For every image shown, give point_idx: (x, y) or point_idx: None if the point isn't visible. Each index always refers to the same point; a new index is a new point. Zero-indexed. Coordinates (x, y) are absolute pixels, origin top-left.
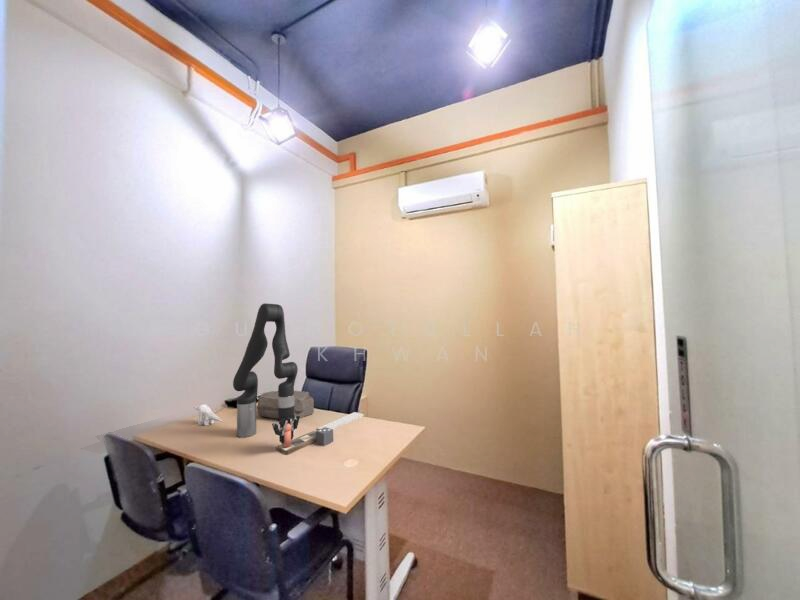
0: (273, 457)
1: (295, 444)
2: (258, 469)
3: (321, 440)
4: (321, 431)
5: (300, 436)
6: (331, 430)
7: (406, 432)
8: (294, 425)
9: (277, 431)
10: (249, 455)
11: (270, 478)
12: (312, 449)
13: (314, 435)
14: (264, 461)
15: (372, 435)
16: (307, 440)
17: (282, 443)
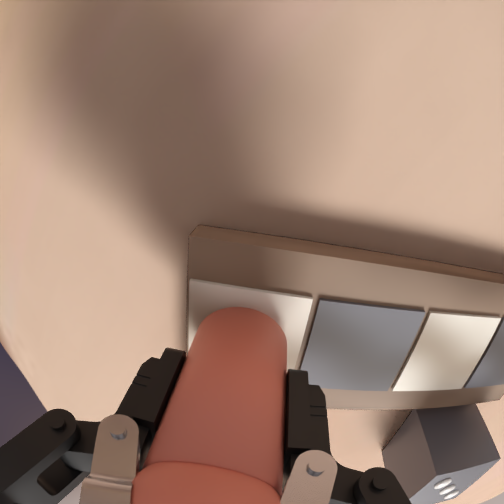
0: (112, 307)
1: (310, 375)
2: (20, 324)
3: (396, 463)
4: (429, 492)
5: (480, 281)
6: (443, 500)
7: (485, 497)
8: (387, 502)
9: (41, 482)
10: (37, 104)
11: (47, 406)
12: (329, 438)
13: (489, 371)
14: (56, 291)
15: (481, 476)
16: (411, 389)
17: (188, 351)
